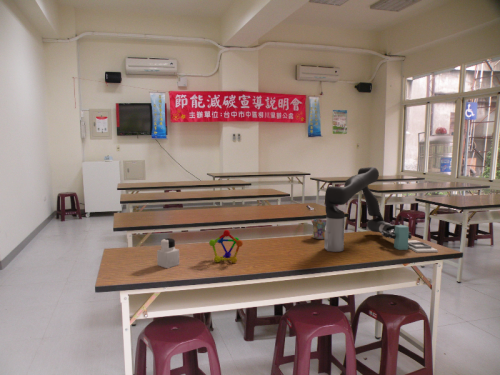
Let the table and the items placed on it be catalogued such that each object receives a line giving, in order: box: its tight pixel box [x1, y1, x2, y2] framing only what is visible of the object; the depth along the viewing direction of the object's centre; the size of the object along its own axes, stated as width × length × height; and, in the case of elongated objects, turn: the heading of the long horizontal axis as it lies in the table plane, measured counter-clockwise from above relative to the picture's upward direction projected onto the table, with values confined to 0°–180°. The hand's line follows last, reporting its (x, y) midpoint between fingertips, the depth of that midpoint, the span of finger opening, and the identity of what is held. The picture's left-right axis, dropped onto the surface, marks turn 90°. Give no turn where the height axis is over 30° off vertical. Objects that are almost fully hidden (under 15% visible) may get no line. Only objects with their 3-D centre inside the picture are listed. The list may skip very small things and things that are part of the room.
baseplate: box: [408, 239, 439, 253], centre depth 188 cm, size 11×20×2 cm, turn 4°
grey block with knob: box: [156, 237, 180, 269], centre depth 158 cm, size 7×7×12 cm
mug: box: [311, 218, 326, 240], centre depth 208 cm, size 12×9×11 cm
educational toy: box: [208, 229, 244, 264], centre depth 166 cm, size 16×13×15 cm
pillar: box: [393, 224, 410, 251], centre depth 185 cm, size 5×5×12 cm
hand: (402, 237), depth 183 cm, fingers open, 8 cm apart
